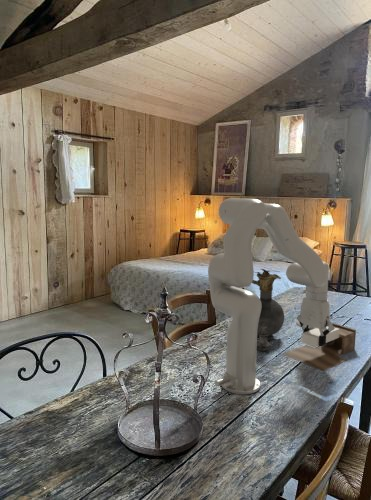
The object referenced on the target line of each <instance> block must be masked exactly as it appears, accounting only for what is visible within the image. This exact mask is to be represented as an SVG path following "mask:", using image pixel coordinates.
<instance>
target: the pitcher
mask: <svg viewBox="0 0 371 500" xmlns="http://www.w3.org/2000/svg"><path fill="white" fill-rule="evenodd" d="M261 270H262V273H261V272H260V271H255V273H256V276H257V278H258V279H257V280H255V279H253V281H252V283H251V284H253V285H257V286H258V287H259V291H260V292H259V299H260V301H261V305H262V308H261V313H260V317H259V322H258V329H257V340H259V333H260V326H261V325H263V323H264V325H266V326H267V334H268V336H267V341H272V340H274V338H275V336H274V335H275V334H278V332H280V331H281V329H282V328H283V325H284V322H285V313H284V312H285V311H284V309H283V307H282V306H281V304H280V303H279V302H278V301H276V300H274V299H273V289H274V287H273V285H274V281H275V280H277V279H279V280H282V278H281V276H279V275H278V274H275V273H272V274H271V273H270V272H271V271H270V270H266V269H264V268H261ZM241 289H244V290H245V288H241Z"/></svg>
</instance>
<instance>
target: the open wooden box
mask: <svg viewBox="0 0 371 500" xmlns="http://www.w3.org/2000/svg"><path fill="white" fill-rule="evenodd" d="M331 323H332V325H333V326H334V327H335V328H338V329H339V338H337V339H335V340H332V341H330V342H327V343H325V345H323V346H317V347H313V346H310V345H308V344H305V345H303V346H299V347H297V348H295V349H292V350H289V351H287V352H284V353H282V355H284V356H286V357H288V358H290V359H294V360H296V361H298V362H301V363H303V364H305V365H308V366H310V367H312V368H314V369H317V370H319V371H323V372H324V371H325V372H326V371H327V370H328V369H331V368H333V367H336V366H337V365H338V366H339V365H340V364H342V363H344V362H347V361H348V359H345V358H342V357H341V356H342V355H345V354H347V353H350V352H352V351H354V350H355V348H356V346H355V345H356V334H357V330H356V329H355V328H352V327H348V326H344V325H341V324H338V323H334V322H331Z"/></svg>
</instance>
